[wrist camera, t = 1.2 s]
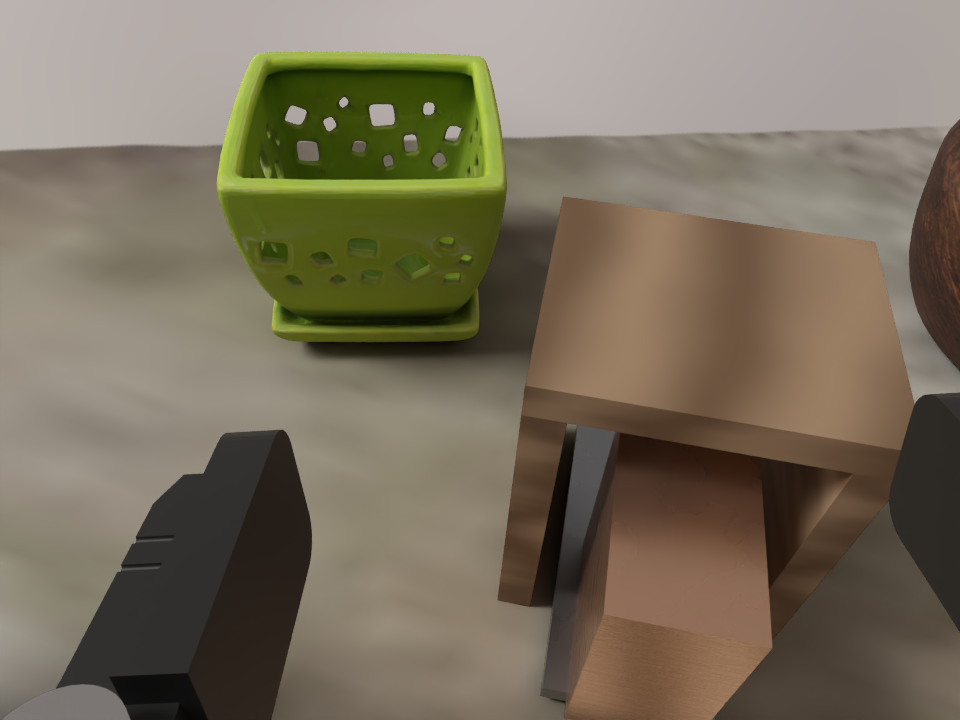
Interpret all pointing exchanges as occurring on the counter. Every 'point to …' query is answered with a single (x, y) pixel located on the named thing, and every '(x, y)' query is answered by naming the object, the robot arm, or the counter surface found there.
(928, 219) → the wooden bowl
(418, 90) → the flower pot
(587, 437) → the tall wood-grain block
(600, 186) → the counter surface
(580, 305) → the tunnel
